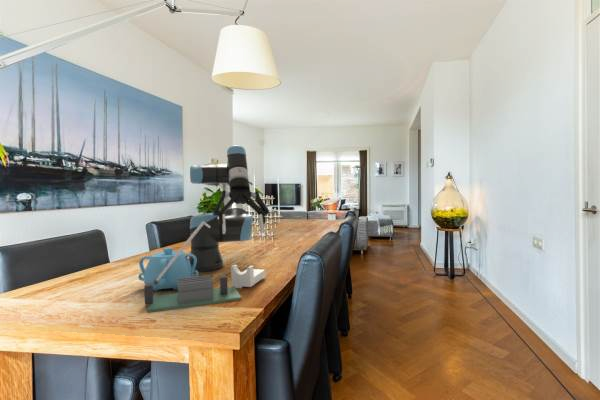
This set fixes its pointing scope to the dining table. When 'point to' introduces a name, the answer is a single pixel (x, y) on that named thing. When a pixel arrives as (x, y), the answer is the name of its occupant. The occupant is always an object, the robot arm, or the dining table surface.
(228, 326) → the dining table surface
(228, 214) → the robot arm
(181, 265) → the decorative pot
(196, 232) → the strap
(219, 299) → the heatsink board
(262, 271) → the bracket
